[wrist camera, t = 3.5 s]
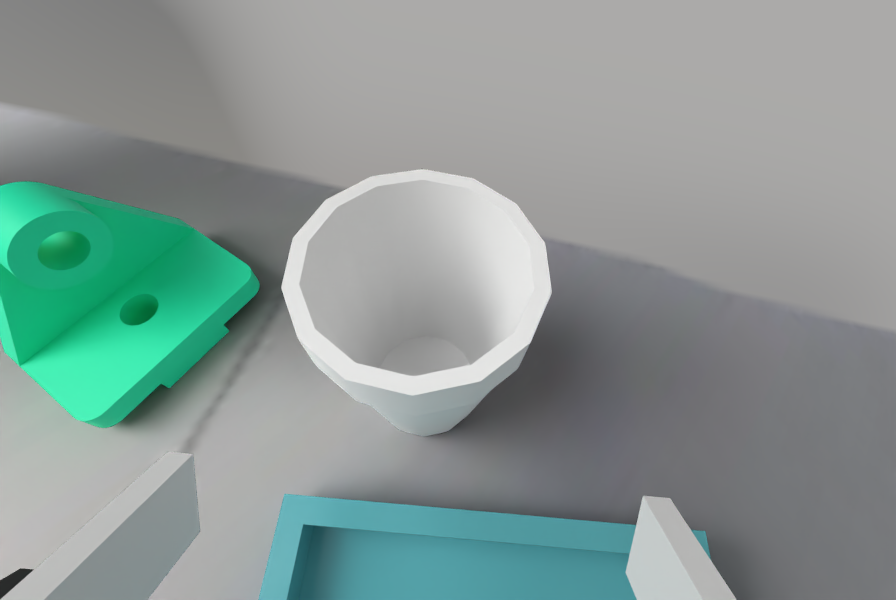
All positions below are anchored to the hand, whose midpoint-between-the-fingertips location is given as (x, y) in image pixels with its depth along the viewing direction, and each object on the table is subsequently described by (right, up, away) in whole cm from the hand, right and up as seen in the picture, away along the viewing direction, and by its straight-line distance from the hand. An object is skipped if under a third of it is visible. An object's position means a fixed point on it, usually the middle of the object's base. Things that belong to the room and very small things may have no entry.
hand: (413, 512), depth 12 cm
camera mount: (-18, +4, +16) cm, 24 cm away
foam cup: (0, +1, +14) cm, 14 cm away
